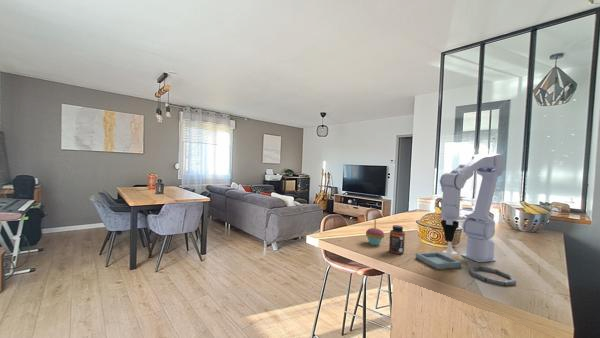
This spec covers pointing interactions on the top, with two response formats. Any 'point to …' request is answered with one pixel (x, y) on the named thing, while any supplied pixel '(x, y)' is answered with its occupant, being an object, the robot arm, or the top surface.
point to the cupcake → (374, 235)
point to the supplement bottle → (397, 240)
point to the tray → (438, 260)
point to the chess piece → (450, 250)
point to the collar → (490, 280)
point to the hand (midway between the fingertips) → (448, 240)
